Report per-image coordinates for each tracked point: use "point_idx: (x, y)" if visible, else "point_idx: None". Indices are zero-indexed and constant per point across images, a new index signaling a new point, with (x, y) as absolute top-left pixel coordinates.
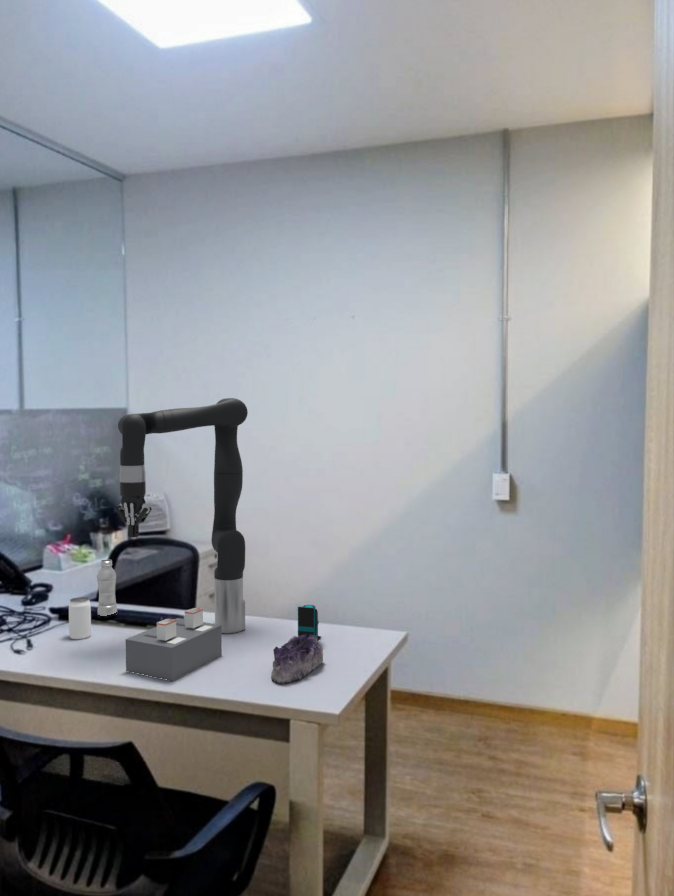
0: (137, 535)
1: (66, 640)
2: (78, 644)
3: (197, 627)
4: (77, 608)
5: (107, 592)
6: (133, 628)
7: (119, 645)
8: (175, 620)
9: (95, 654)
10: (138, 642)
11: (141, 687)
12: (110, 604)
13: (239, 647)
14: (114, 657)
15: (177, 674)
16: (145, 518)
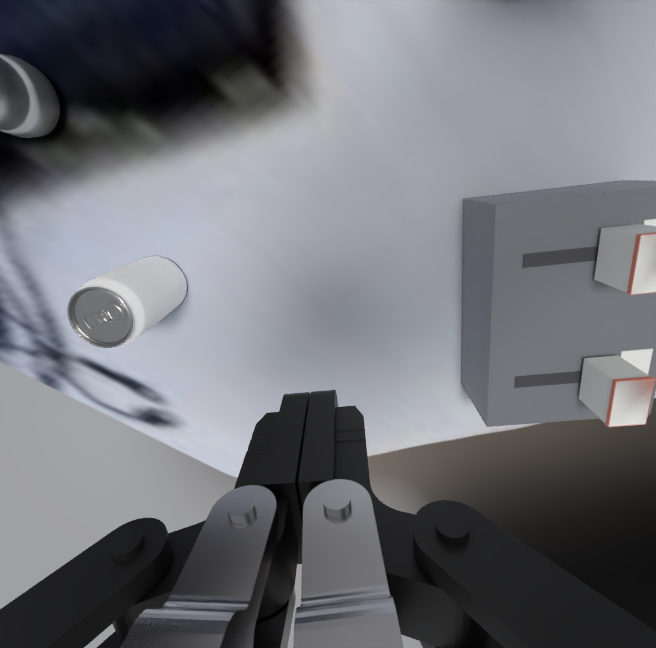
0: (335, 396)
1: (161, 319)
2: (214, 323)
3: None
4: (140, 335)
5: None
6: (210, 140)
7: (307, 274)
8: (654, 382)
9: (312, 347)
10: (531, 422)
11: None
12: (26, 103)
13: (643, 87)
14: (368, 338)
15: None
16: (566, 588)
